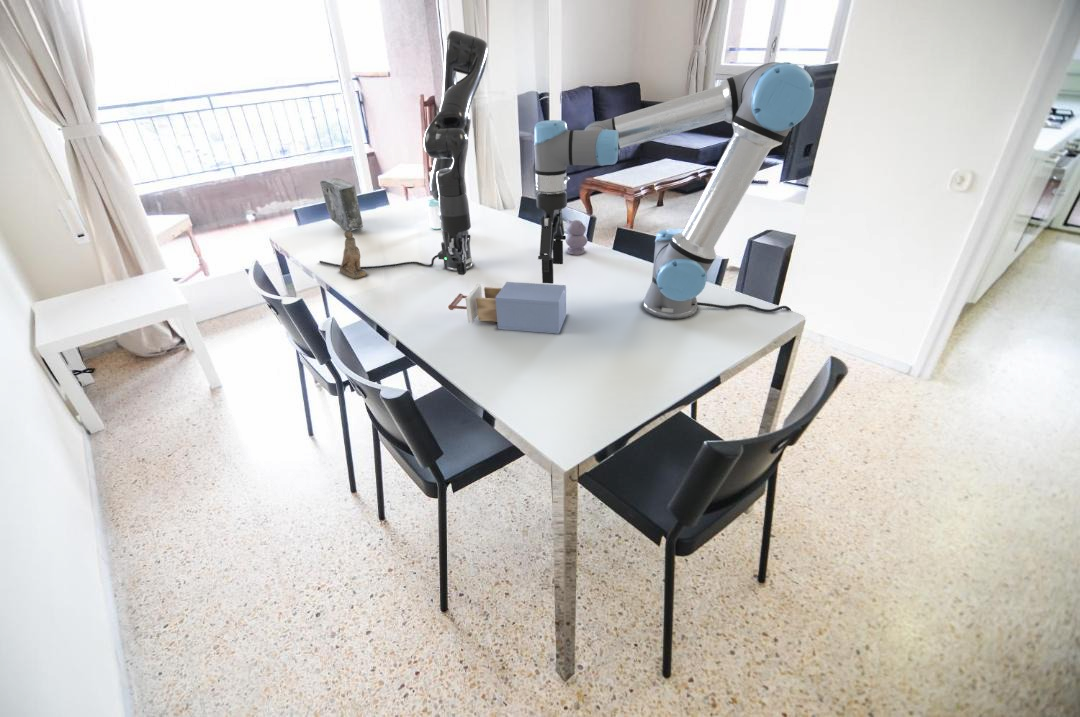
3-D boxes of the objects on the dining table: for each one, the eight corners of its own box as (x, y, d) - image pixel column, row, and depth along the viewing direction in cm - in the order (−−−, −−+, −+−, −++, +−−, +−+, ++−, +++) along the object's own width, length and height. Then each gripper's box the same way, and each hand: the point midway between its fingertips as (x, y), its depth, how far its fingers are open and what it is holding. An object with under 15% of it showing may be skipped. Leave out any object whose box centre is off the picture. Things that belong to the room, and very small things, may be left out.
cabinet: (498, 329, 139) (495, 297, 134) (508, 311, 148) (506, 281, 143) (559, 333, 135) (558, 301, 130) (566, 315, 144) (565, 285, 139)
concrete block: (368, 232, 220) (358, 186, 209) (348, 237, 216) (336, 189, 205) (349, 220, 239) (338, 176, 228) (330, 223, 234) (319, 179, 224)
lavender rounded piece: (591, 251, 189) (592, 220, 183) (578, 257, 185) (578, 225, 178) (574, 246, 195) (574, 216, 188) (561, 252, 190) (560, 221, 183)
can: (445, 229, 220) (441, 202, 214) (429, 230, 220) (425, 202, 214) (447, 224, 226) (444, 198, 220) (432, 225, 226) (428, 198, 220)
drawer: (448, 321, 142) (445, 296, 138) (460, 306, 150) (457, 283, 146) (523, 326, 137) (521, 301, 133) (531, 311, 145) (530, 287, 141)
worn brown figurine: (368, 281, 178) (362, 235, 166) (353, 285, 175) (347, 238, 163) (352, 266, 184) (346, 221, 172) (338, 270, 181) (331, 224, 169)
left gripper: (459, 218, 123) (466, 283, 132) (476, 205, 134) (482, 265, 143) (431, 218, 125) (440, 282, 134) (450, 204, 135) (458, 264, 145)
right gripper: (556, 204, 110) (558, 292, 121) (574, 179, 131) (574, 257, 142) (523, 203, 111) (528, 290, 123) (547, 179, 132) (549, 256, 143)
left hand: (462, 273), depth 138 cm, fingers closed
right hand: (553, 273), depth 132 cm, fingers open, 13 cm apart
